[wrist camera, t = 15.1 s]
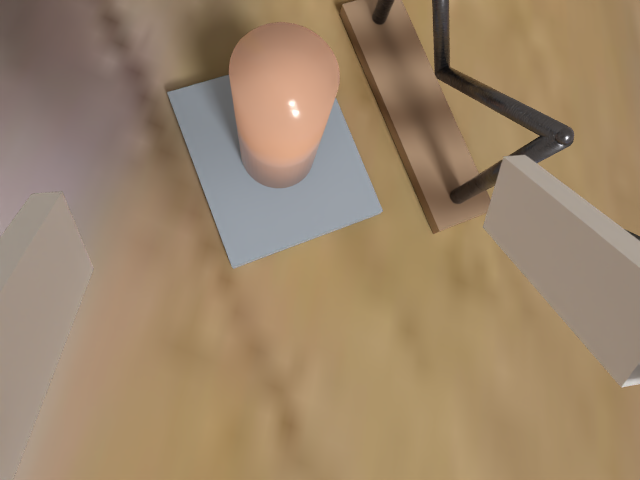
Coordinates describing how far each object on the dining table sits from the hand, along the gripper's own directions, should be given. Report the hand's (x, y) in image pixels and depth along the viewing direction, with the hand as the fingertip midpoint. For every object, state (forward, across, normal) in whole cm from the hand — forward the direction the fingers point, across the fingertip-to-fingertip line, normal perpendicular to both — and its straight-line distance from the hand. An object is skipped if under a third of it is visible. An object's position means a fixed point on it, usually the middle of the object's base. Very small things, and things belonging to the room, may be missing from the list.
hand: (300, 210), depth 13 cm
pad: (+19, +1, -7) cm, 21 cm away
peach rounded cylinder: (+18, +1, -6) cm, 20 cm away
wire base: (+21, +12, -5) cm, 25 cm away
